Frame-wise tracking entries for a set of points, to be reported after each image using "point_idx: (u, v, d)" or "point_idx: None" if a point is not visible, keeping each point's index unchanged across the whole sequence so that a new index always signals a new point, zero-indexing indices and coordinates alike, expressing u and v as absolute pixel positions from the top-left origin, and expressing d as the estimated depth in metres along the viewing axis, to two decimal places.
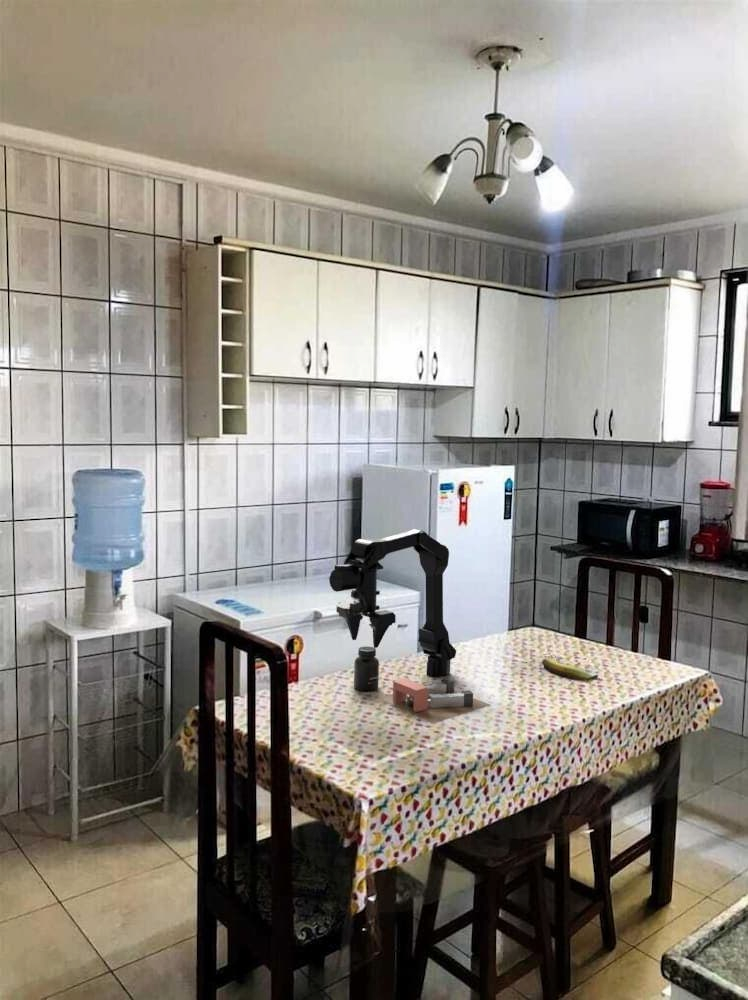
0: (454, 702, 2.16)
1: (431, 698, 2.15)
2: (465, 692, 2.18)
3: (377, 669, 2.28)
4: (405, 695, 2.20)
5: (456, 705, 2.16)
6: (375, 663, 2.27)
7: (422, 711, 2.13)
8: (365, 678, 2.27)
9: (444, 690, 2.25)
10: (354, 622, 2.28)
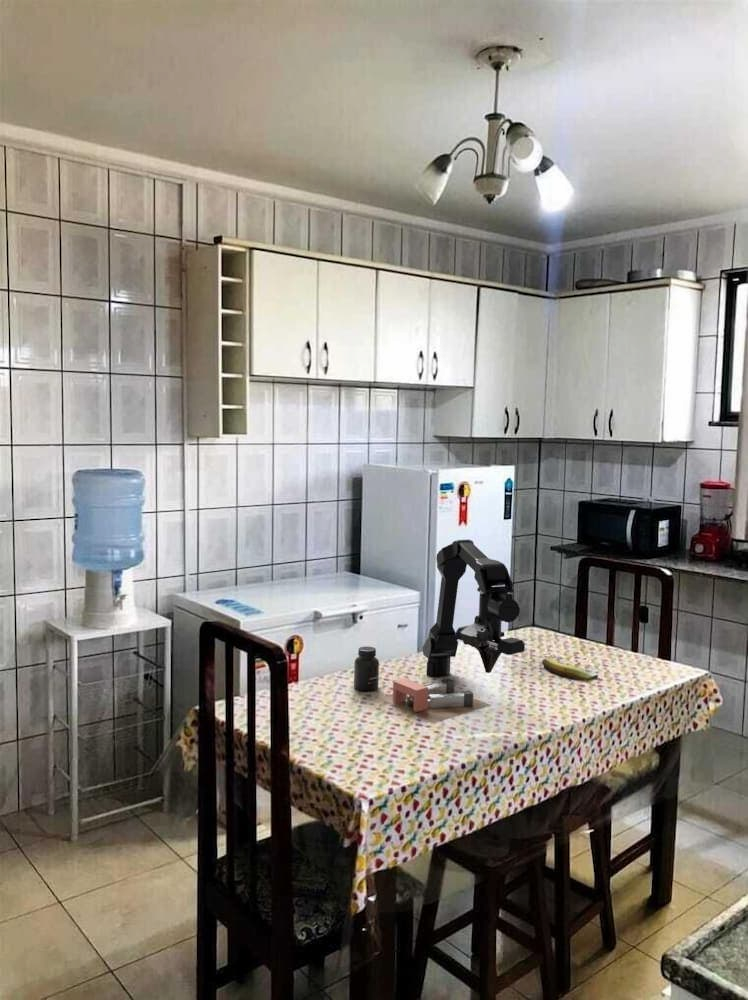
0: (454, 702, 2.16)
1: (431, 698, 2.15)
2: (465, 692, 2.18)
3: (377, 669, 2.28)
4: (405, 695, 2.20)
5: (456, 705, 2.16)
6: (375, 663, 2.27)
7: (422, 711, 2.13)
8: (365, 678, 2.27)
9: (444, 690, 2.25)
10: None
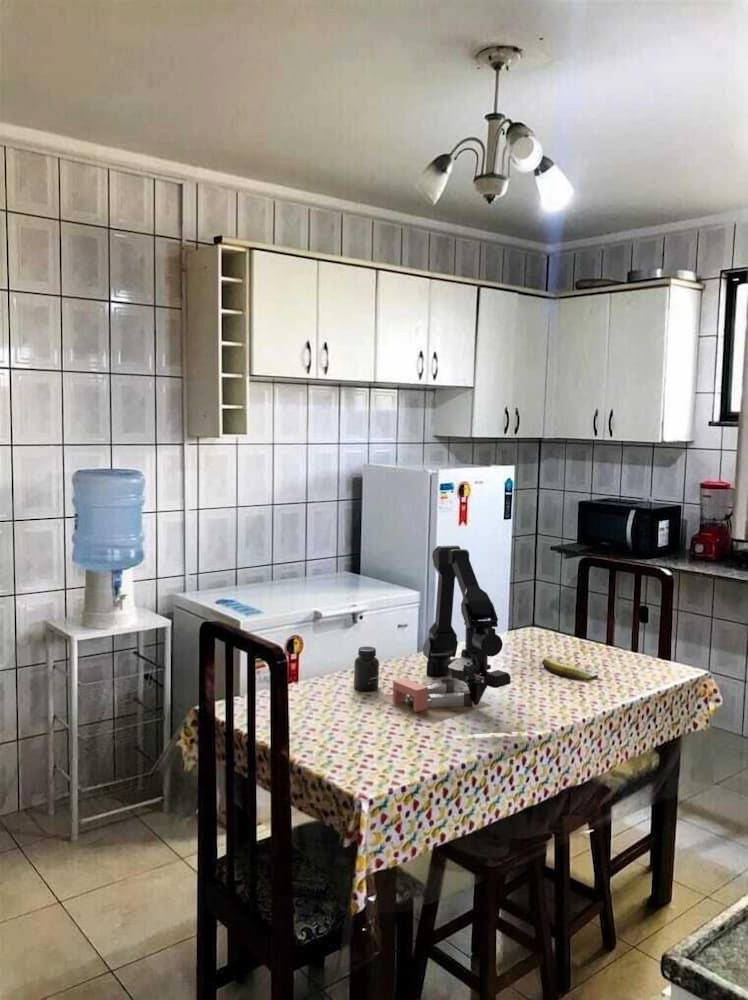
0: (454, 702, 2.17)
1: (431, 698, 2.15)
2: (465, 692, 2.18)
3: (377, 669, 2.28)
4: (405, 695, 2.20)
5: (456, 705, 2.17)
6: (375, 663, 2.27)
7: (422, 711, 2.13)
8: (365, 678, 2.27)
9: (444, 690, 2.25)
10: None
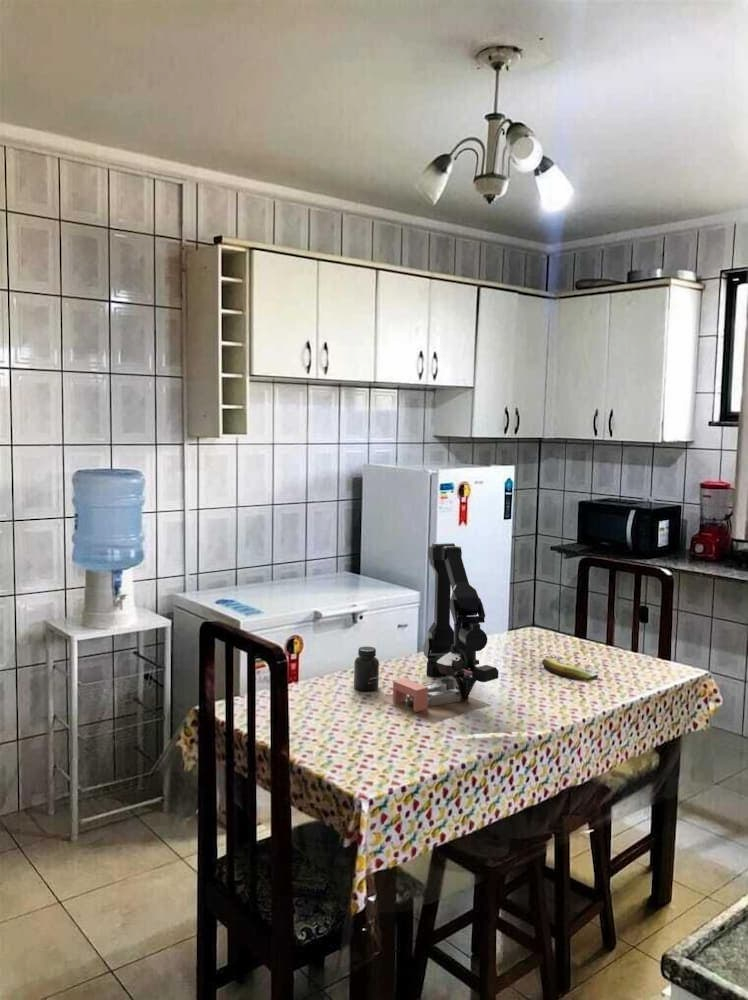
0: (453, 698, 2.19)
1: (432, 696, 2.16)
2: None
3: (377, 669, 2.28)
4: (405, 695, 2.20)
5: (454, 701, 2.20)
6: (375, 663, 2.27)
7: (422, 711, 2.13)
8: (365, 678, 2.27)
9: None
10: None
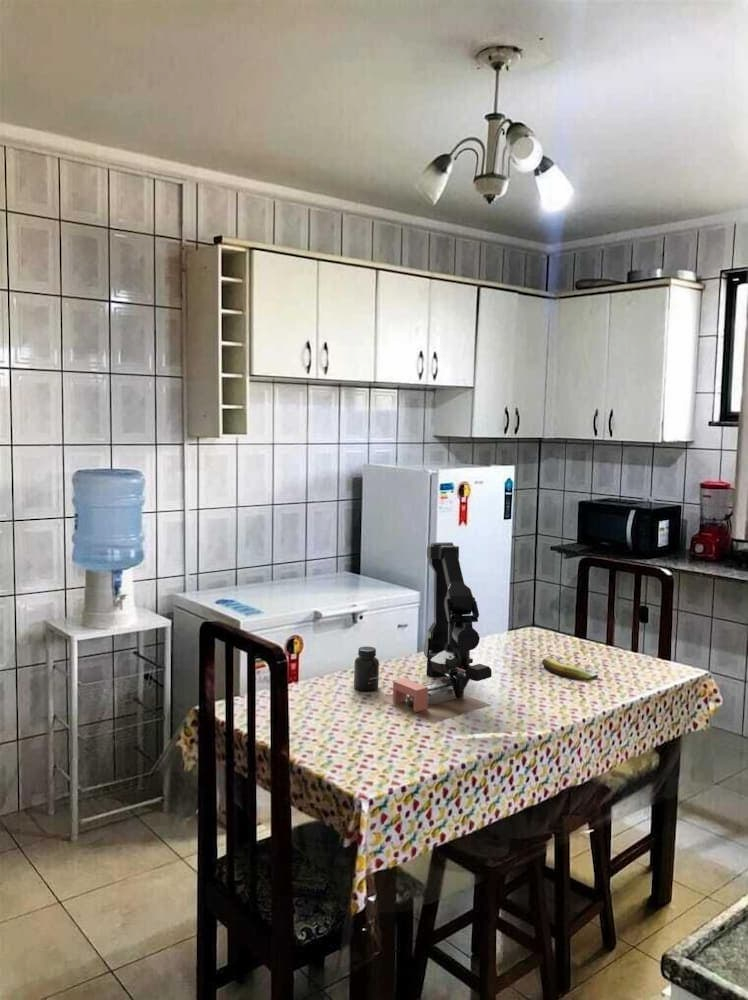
0: (450, 695, 2.21)
1: (432, 695, 2.17)
2: None
3: (377, 669, 2.28)
4: (405, 695, 2.20)
5: (451, 698, 2.22)
6: (375, 663, 2.27)
7: (422, 711, 2.13)
8: (365, 678, 2.27)
9: None
10: None
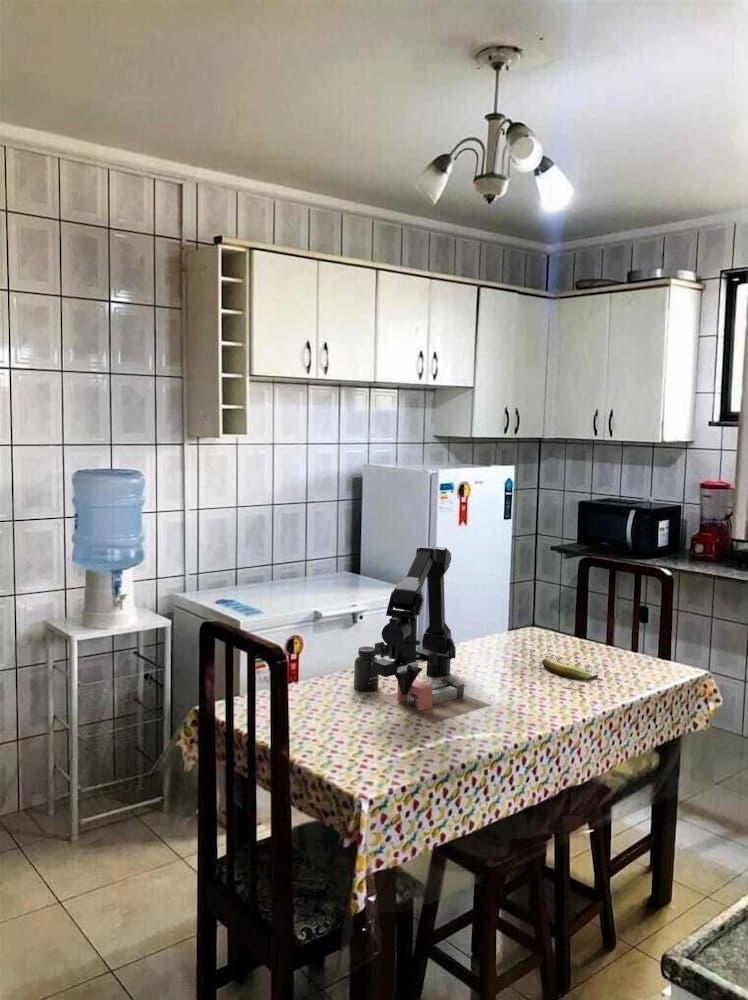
0: (450, 695, 2.21)
1: (432, 695, 2.17)
2: (456, 684, 2.24)
3: None
4: None
5: (451, 698, 2.22)
6: None
7: (422, 711, 2.13)
8: (365, 678, 2.27)
9: None
10: None
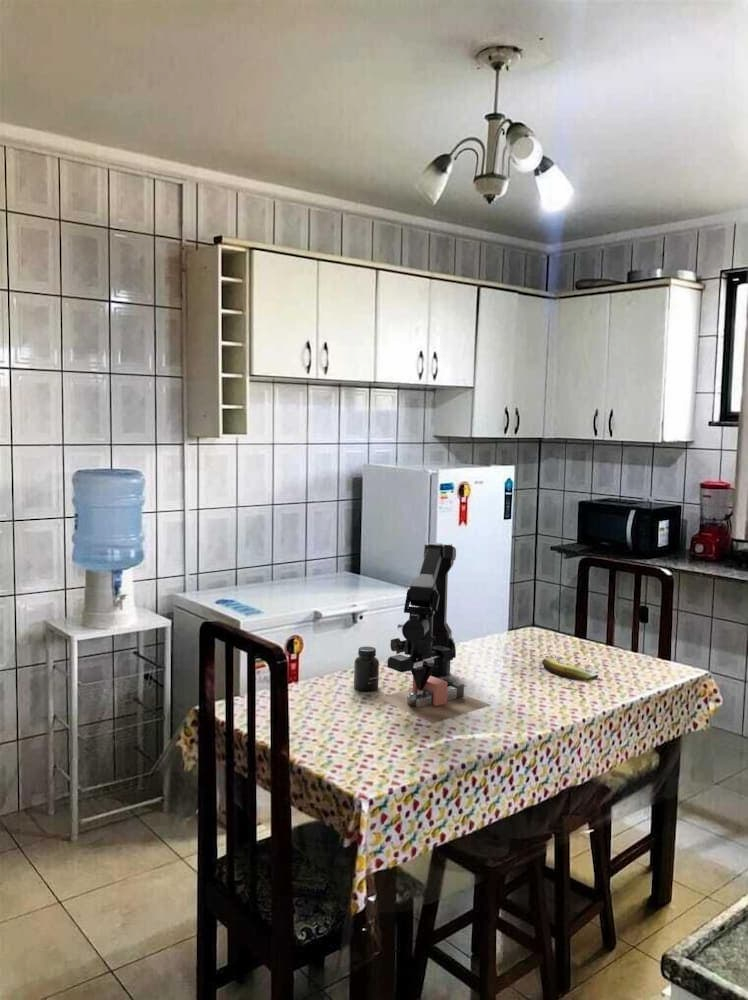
0: (450, 695, 2.21)
1: (432, 695, 2.17)
2: (456, 684, 2.24)
3: (377, 669, 2.28)
4: None
5: (451, 698, 2.22)
6: (375, 663, 2.27)
7: (422, 711, 2.13)
8: (365, 678, 2.27)
9: None
10: None
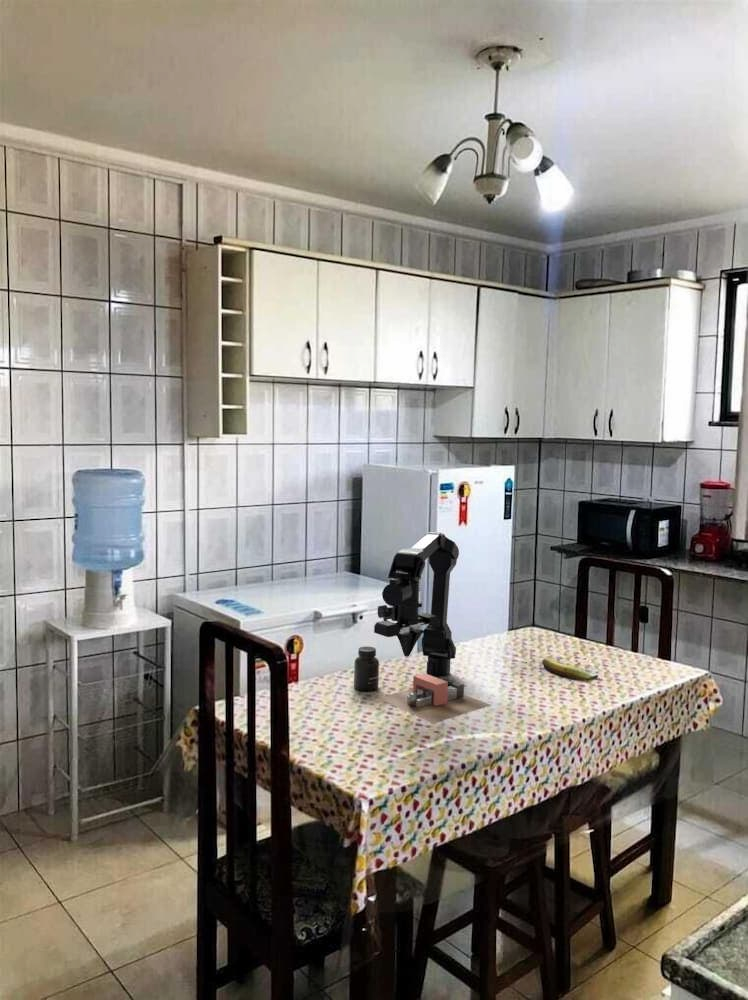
0: (450, 695, 2.21)
1: (432, 695, 2.17)
2: (456, 684, 2.24)
3: (377, 669, 2.28)
4: None
5: (451, 698, 2.22)
6: (375, 663, 2.27)
7: (422, 711, 2.13)
8: (365, 678, 2.27)
9: None
10: None
